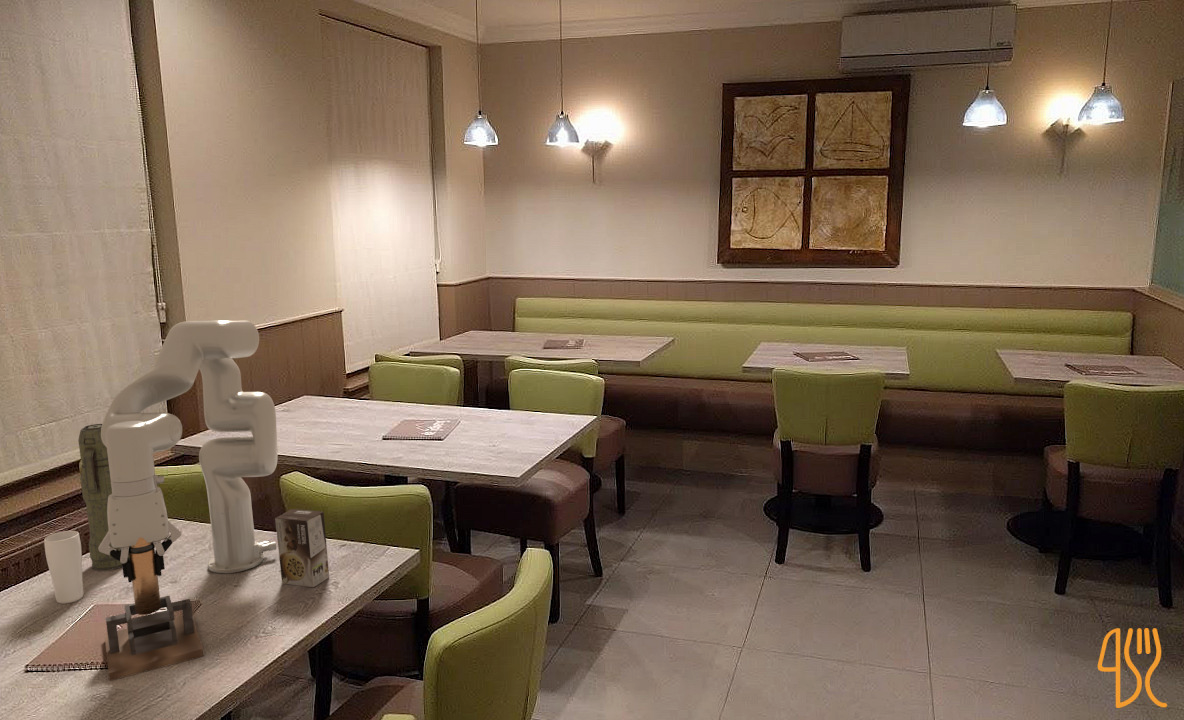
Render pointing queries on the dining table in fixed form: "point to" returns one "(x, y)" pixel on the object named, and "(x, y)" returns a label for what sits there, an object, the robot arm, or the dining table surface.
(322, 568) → the coffee box
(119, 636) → the collar stand
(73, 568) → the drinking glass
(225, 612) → the dining table surface
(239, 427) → the robot arm
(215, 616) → the dining table surface
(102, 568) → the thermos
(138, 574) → the tan cylinder
